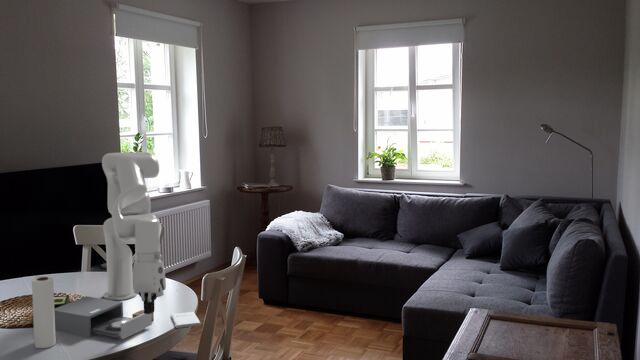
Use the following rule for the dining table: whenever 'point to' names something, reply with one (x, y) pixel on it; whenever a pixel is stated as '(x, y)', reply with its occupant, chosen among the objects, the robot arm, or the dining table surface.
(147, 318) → the tray
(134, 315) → the pedestal
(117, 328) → the disc
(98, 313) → the grey drawer box
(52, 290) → the paper towel roll
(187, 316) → the external hard drive
